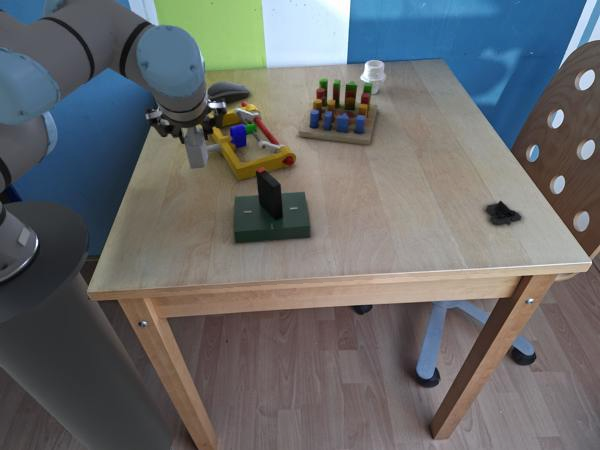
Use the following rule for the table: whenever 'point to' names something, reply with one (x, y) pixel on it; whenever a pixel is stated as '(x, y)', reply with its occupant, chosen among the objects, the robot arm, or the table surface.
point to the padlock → (196, 148)
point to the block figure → (502, 214)
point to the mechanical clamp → (239, 139)
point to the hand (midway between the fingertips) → (194, 135)
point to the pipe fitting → (374, 74)
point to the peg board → (340, 115)
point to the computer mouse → (227, 91)
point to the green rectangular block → (270, 219)
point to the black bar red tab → (269, 193)
